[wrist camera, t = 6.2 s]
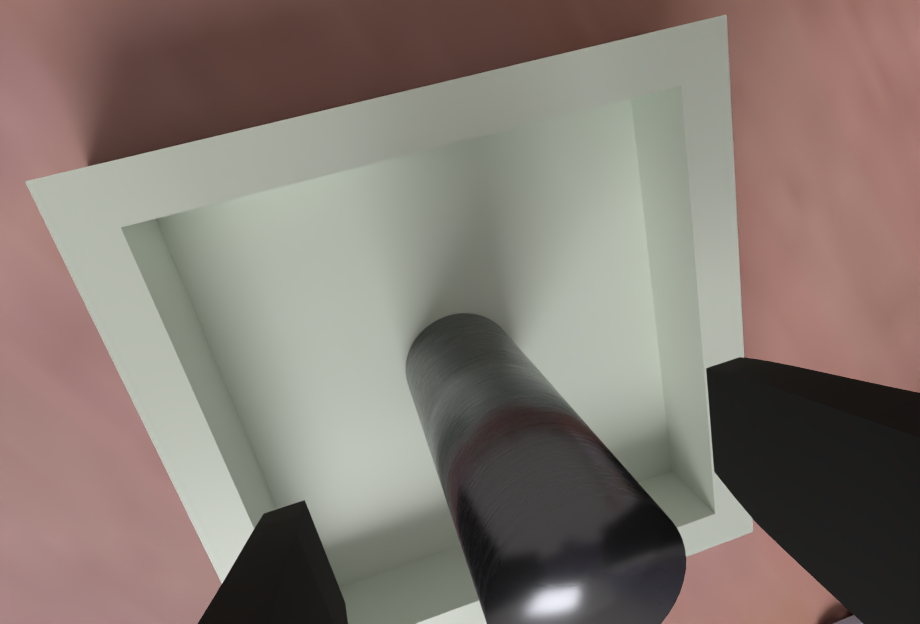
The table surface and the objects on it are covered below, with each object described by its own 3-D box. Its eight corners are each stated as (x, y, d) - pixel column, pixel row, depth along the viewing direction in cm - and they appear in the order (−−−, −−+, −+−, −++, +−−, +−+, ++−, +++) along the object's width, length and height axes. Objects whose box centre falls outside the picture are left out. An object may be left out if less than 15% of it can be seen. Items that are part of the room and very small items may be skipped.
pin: (506, 302, 13) (683, 472, 7) (520, 401, 14) (688, 636, 8) (396, 327, 13) (470, 533, 6) (416, 428, 14) (500, 699, 7)
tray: (653, 33, 13) (726, 14, 10) (694, 475, 17) (753, 531, 15) (86, 168, 11) (25, 181, 9) (288, 620, 15) (282, 708, 13)
